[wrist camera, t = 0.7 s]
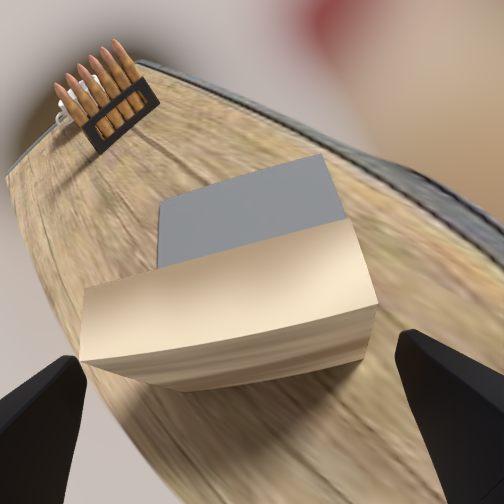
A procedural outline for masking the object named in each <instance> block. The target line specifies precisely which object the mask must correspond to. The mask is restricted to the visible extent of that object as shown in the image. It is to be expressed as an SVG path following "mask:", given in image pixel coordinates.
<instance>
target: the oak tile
mask: <svg viewBox="0 0 504 504" xmlns="http://www.w3.org/2000/svg"><path fill="white" fill-rule="evenodd" d="M377 306H378V301H377V298H376V294H375V291H374V288H373V285H372V282H371V278H370V275H369V272H368V269H367V266H366V263H365V260H364V257H363V254H362V251H361V248H360V245H359V243H358V240H357V237H356V234H355V231H354V228H353V226H352V223H351V220H350V218H347V219H343V220H339V221H335V222H331V223H327V224H324V225H320V226H316V227H312V228H308V229H305V230H301V231H297V232H293V233H289V234H286V235H282V236H278V237H274V238H270V239H267V240H263V241H259V242H255V243H252V244H248V245H244V246H240V247H237V248H233V249H229V250H225V251H222V252H218V253H214V254H210V255H207V256H203V257H199V258H196V259H192V260H188V261H184V262H181V263H177V264H173V265H170V266H166V267H162V268H159V269H155V270H151V271H148V272H144V273H140V274H137V275H133V276H129V277H126V278H122V279H118V280H115V281H111V282H107V283H104V284H100V285H97V286H93V287H89V288H86V289H85V291H84V300H83V310H82V322H81V336H80V356H79V361H80V362H83V363H86V364H89V365H91V366H94V367H97V368H100V369H103V370H106V371H109V372H112V373H115V374H118V375H121V376H124V377H128V378H131V379H134V380H138V381H141V382H145V383H148V384H152V385H155V386H159V387H163V388H166V389H170V390H174V391H178V392H182V393H183V392H192V391H201V390H209V389H217V388H224V387H231V386H238V385H244V384H250V383H256V382H262V381H267V380H273V379H278V378H283V377H289V376H293V375H298V374H303V373H308V372H312V371H317V370H321V369H325V368H330V367H334V366H338V365H342V364H346V363H350V362H354V361H357V360H361V359H364V356H365V353H366V349H367V346H368V342H369V338H370V335H371V331H372V327H373V323H374V319H375V315H376V311H377Z"/></svg>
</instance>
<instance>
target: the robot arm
mask: <svg viewBox="0 0 504 504" xmlns="http://www.w3.org/2000/svg"><path fill="white" fill-rule="evenodd" d="M395 362H396V365H397V368H398V372H399V375H400V378H401V381H402V384H403V387H404V391H405V394H406V397H407V400H408V403H409V406H410V409H411V411H412V413H413V416H414V418H415V420H416V423H417V425H418V428H419V430H420V432H421V435H422V437H423V440H424V442H425V445H426V447H427V450H428V452H429V455H430V457H431V460H432V462H433V465H434V467H435V470H436V473H437V475H438V478H439V481H440V483H441V486H442V489H443V492H444V494H445V497H446V500H447V503H448V504H504V375H502V374H500V373H498V372H496V371H494V370H492V369H490V368H489V367H487V366H485V365H483V364H481V363H479V362H477V361H475V360H473V359H471V358H469V357H467V356H466V355H464V354H462V353H460V352H458V351H456V350H454V349H452V348H450V347H448V346H446V345H444V344H443V343H441V342H439V341H437V340H435V339H433V338H431V337H429V336H427V335H425V334H423V333H421V332H419V331H417V330H415V329H410V330H405V331H402V332H401V333H400V334H399V338H398V343H397V347H396V351H395ZM86 387H87V378H86V375H85V373H84V371H83V369H82V367H81V365H80V363H79V361H78V359H77V358H76V357H75V356H68V355H64V356H61V357H60V358H58V359H57V360H56V361H54V362H53V363H51V364H50V365H48V366H47V367H46V368H44V369H43V370H41V371H40V372H38V373H37V374H36V375H34V376H33V377H31V378H30V379H29V380H27V381H26V382H24V383H23V384H21V385H20V386H19V387H17V388H16V389H14V390H13V391H12V392H10V393H9V394H8V395H6V396H5V397H3V398H2V399H1V400H0V504H63V503H64V497H65V492H66V486H67V482H68V476H69V472H70V467H71V462H72V458H73V454H74V450H75V446H76V442H77V437H78V433H79V429H80V424H81V417H82V411H83V405H84V398H85V392H86Z"/></svg>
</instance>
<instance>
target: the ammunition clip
mask: <svg viewBox="0 0 504 504" xmlns="http://www.w3.org/2000/svg"><path fill="white" fill-rule="evenodd" d="M111 41H112V46H113V49H114V52H115V53H116V55H117V57H118V59H119V61H120V63H121V67H122V68H120V66H119V65H118V64H117V62H116V61H115V60H114V58H113V57H112V56H111V54H110V53H109V52H108V51H107V50H106V49H105V48H104V47H100V51H101V55H102V58H103V60H104V62H105V64H106V65H107V67H108V69H109V71H110V74H111V76H112V78H113V79H112V78H111V76H109V75H108V73H107V72H106V71H105V69H104V68H103V67H102V65H101V64H100V63H99V62H98V60H96V58H94V57H93V56H92V55H89V62H90V64H91V67H92V68H93V71H94V72H95V74H96V76H97V78H98V79H99V82H100V84H101V86H102V87H103V89H104V90H105V92H106V93H107V95H108V96H109V98H108V96H107V95H106V93H105V92H104V90H103V89H102V87H101V86H100V85H99V84H98V83H97V82H96V81H95V79H94V78H93V77H92V76H91V74H90V73H89V72H88V71H87V69H86V68H84V67H83V66H82V65H81V64H77V68H78V71H79V74H80V76H81V78H82V80H83V81H84V83H85V85H86V86H87V88H88V90H89V93H90V94H91V96H92V97H93V99H94V100H95V102H96V103H97V104H98V106H97V105H96V103H95V102H94V101H93V99H92V98H91V97H90V95H89V94H88V93H87V92H86V91H85V90H84V89H83V88H82V87H81V85H80V84H79V83H78V82H77V80H76V79H75V78H74V77H72V76H71V75H70V74H68V73H66V74H65V76H66V79H67V82H68V84H69V86H70V88H71V90H72V91H73V92H74V94H75V96H76V98H77V100H78V102H79V104H80V105H81V106H82V108H83V109H84V111H85V112H86V113H87V115H86V114H85V112H84V111H83V110H82V109H81V107H80V106H79V105H78V103H76V102H75V101H74V100H73V99H72V97H71V96H70V95H69V94H68V93H67V92H66V90H65V89H64V88H63V87H61V86H60V85H59V84H57V83H54V88H55V91H56V93H57V95H58V96H59V98H60V100H61V101H62V103H63V104H64V106H65V107H66V109H67V112H68V113H69V115H70V116H71V117H72V118H73V120H74V121H75V122H76V124H77V125H78V126H79V128H80V129H81V130H82V131H83V133H84V134H85V136H86V137H87V138H88V140H89V141H90V143H91V144H92V145H93V147H94V148H95V150H96V151H97V152H98V153H99V154H102V153H103V152H105V151H106V150H107V149H108V148H109V147H110V146H111V145H112V144H113V143H114V142H115V141H117V140H118V139H119V138H120V137H121V136H122V135H123V134H124V133H126V132H127V131H128V130H129V129H130V128H131V127H133V126H134V125H135V124H136V123H137V122H138V121H140V120H141V119H142V118H143V117H144V116H146V115H147V114H148V113H149V112H151V111H152V110H153V109H154V108H156V107H157V106H158V105H159V104H160V102H159V100H158V99H157V97H156V95H155V94H154V92H153V91H152V89H151V88H150V86H149V85H148V83H147V82H146V80H145V79H144V77H143V76H141V74H140V72H139V71H138V69H137V67H136V65H135V64H134V62H133V61H132V60H131V59H130V58H129V56H128V55H127V53H126V52H125V50H124V49H123V47H122V46H121V45H120V44H119V43H118V42H117V41H116V40H115V39H112V40H111ZM122 69H123V70H124V71H123V70H122ZM124 72H125V73H124ZM126 75H127V76H126ZM127 77H128V78H127ZM113 80H114V81H115V82H114V81H113ZM129 80H130V81H129ZM115 83H116V84H117V85H116V84H115ZM117 86H118V87H119V88H118V87H117ZM130 106H131V107H130ZM115 107H116V108H117V109H116V108H115ZM132 109H133V110H132ZM117 110H118V111H119V112H118V111H117ZM119 113H120V114H121V115H120V114H119ZM105 116H106V117H107V119H108V120H109V121H110V123H111V124H112V126H111V124H110V123H109V121H108V120H107V119H106V117H105ZM122 117H123V118H122ZM95 125H96V127H97V128H98V129H99V131H100V132H101V133H102V135H101V133H100V132H99V131H98V130H97V128H96V127H95Z"/></svg>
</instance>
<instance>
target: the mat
mask: <svg viewBox="0 0 504 504" xmlns="http://www.w3.org/2000/svg"><path fill="white" fill-rule="evenodd" d="M343 219H347V218H346V215H345V212H344V209H343V207H342V204H341V201H340V199H339V196H338V194H337V191H336V188H335V186H334V183H333V181H332V178H331V176H330V173H329V171H328V168H327V166H326V163H325V161H324V159H323V156H322V154H318V155H314V156H310V157H306V158H302V159H298V160H295V161H291V162H287V163H283V164H280V165H276V166H273V167H269V168H265V169H262V170H258V171H255V172H252V173H248V174H245V175H241V176H238V177H235V178H231V179H228V180H225V181H222V182H218V183H215V184H212V185H209V186H206V187H203V188H200V189H196V190H193V191H190V192H187V193H184V194H181V195H178V196H175V197H172V198H170V199H167V200H164V201H161V202H160V216H159V237H158V269H159V268H162V267H166V266H170V265H173V264H177V263H181V262H184V261H188V260H192V259H196V258H199V257H203V256H207V255H210V254H214V253H218V252H222V251H225V250H229V249H233V248H237V247H240V246H244V245H248V244H252V243H255V242H259V241H263V240H267V239H270V238H274V237H278V236H282V235H286V234H289V233H293V232H297V231H301V230H305V229H308V228H312V227H316V226H320V225H324V224H327V223H331V222H335V221H339V220H343Z"/></svg>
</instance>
